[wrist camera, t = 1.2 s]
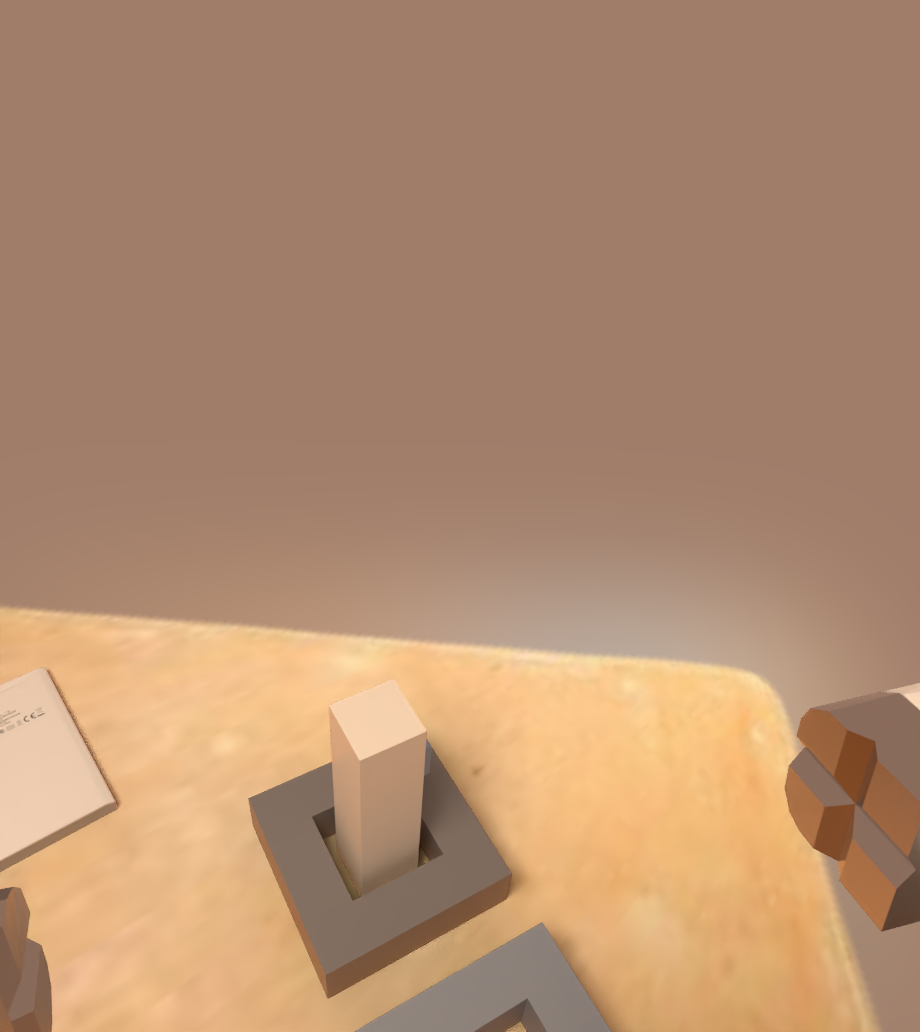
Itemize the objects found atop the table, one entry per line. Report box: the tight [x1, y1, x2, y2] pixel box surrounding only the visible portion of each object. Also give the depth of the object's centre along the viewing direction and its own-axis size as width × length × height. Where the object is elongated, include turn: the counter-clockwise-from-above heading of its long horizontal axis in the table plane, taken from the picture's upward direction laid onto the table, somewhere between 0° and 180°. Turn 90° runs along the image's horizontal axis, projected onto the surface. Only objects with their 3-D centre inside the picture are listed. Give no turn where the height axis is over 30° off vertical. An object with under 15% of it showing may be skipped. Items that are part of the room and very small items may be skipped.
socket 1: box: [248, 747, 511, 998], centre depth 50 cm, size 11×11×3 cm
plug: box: [329, 679, 431, 897], centre depth 47 cm, size 4×4×14 cm
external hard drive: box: [0, 667, 118, 872], centre depth 54 cm, size 2×8×12 cm
